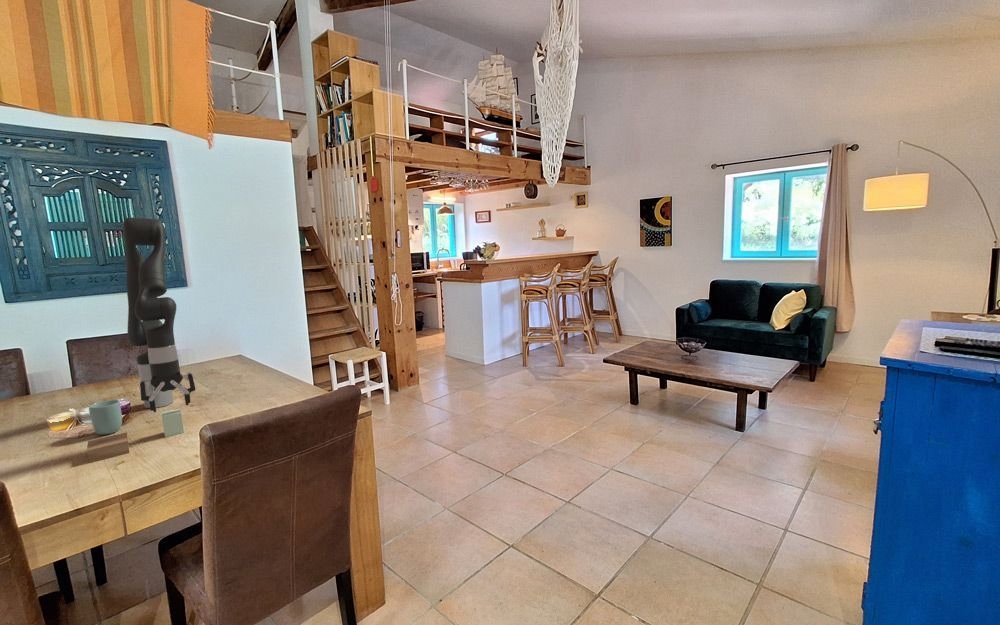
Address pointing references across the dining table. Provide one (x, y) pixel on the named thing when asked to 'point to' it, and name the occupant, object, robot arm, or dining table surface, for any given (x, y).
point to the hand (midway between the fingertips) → (171, 408)
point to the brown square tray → (107, 447)
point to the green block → (172, 422)
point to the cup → (106, 416)
